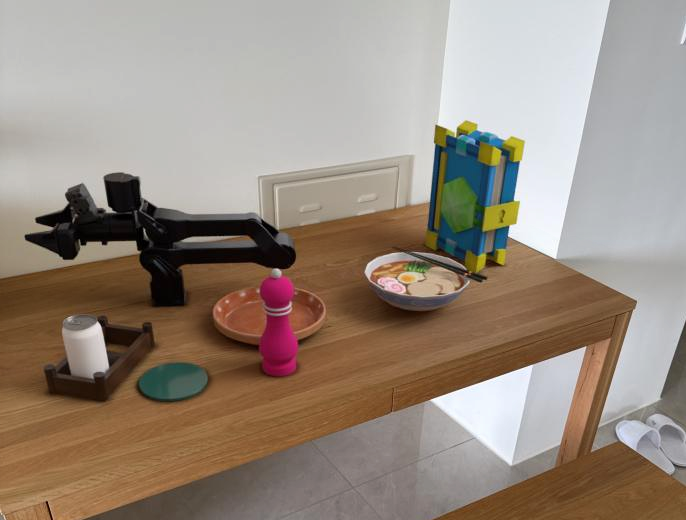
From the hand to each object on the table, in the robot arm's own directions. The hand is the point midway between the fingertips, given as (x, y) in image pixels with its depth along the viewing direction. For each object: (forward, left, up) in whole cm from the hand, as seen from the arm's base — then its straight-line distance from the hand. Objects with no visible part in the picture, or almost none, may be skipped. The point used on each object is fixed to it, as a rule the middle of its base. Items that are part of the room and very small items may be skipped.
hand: (30, 228), depth 143 cm
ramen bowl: (-78, +6, -17) cm, 80 cm away
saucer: (-46, +13, -17) cm, 51 cm away
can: (-14, +31, -17) cm, 38 cm away
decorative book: (-96, -20, -17) cm, 100 cm away
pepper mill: (-47, +30, -17) cm, 59 cm away
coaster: (-28, +33, -17) cm, 47 cm away
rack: (-16, +27, -17) cm, 35 cm away
